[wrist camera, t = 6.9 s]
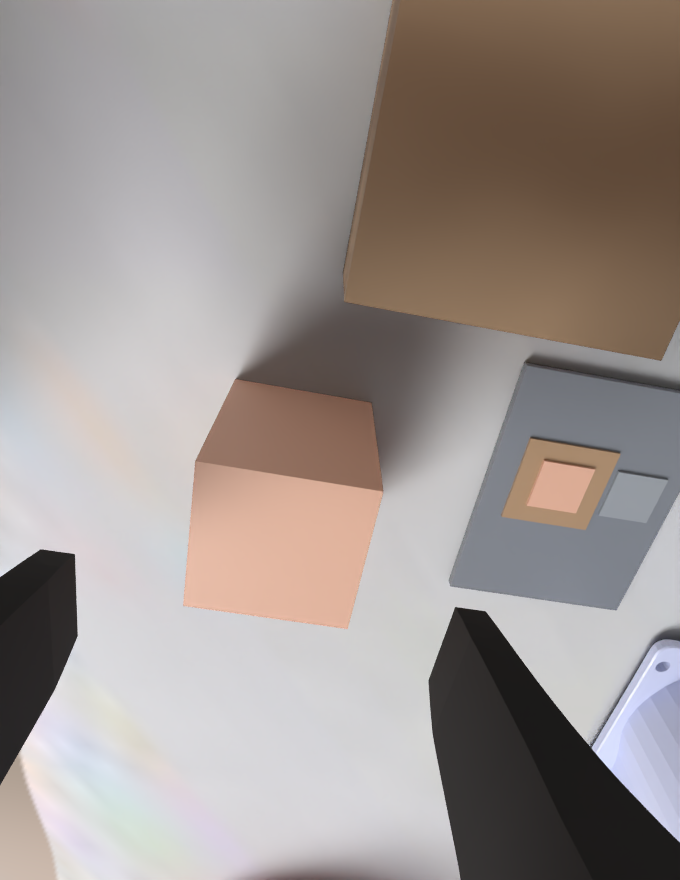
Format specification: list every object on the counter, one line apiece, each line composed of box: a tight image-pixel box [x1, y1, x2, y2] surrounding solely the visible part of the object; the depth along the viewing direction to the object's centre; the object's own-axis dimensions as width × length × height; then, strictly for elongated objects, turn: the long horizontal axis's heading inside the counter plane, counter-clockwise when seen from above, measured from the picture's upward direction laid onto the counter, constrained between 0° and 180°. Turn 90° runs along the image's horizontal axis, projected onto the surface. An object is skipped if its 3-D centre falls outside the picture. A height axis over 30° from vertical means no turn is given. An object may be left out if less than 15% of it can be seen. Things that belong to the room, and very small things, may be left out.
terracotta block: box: [183, 379, 383, 629], centre depth 15 cm, size 4×4×5 cm
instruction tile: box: [449, 362, 680, 610], centre depth 18 cm, size 8×6×1 cm
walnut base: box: [343, 0, 680, 361], centre depth 12 cm, size 7×7×4 cm
